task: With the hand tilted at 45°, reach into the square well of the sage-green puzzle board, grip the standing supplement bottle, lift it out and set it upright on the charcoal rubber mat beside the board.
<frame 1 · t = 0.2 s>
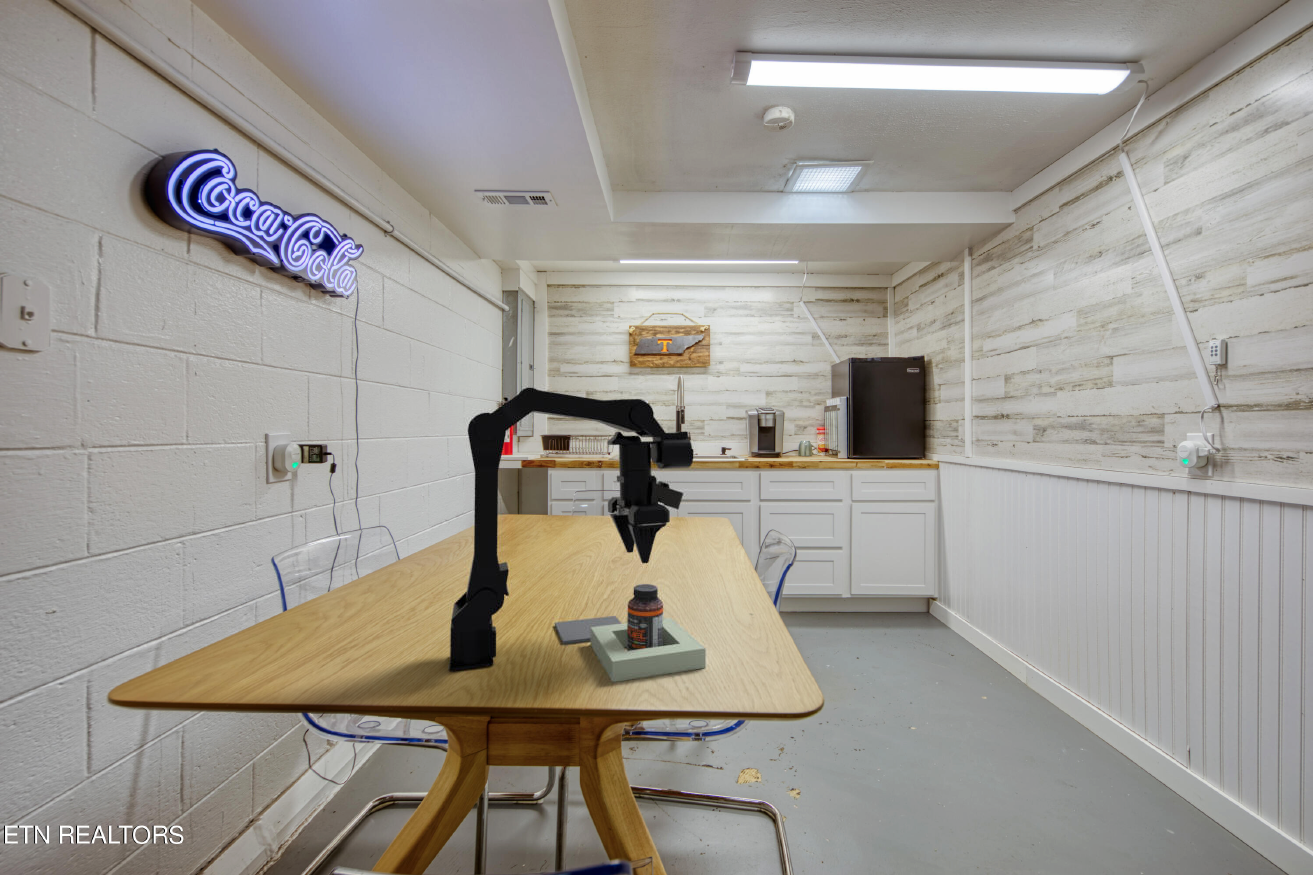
hand: (637, 557, 91), 15 cm above the table, tool pointing down, fingers open, 9 cm apart
puzzle board: (644, 655, 84), on the table
supplement bottle: (644, 656, 84), resting in puzzle board
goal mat: (591, 630, 95), on the table
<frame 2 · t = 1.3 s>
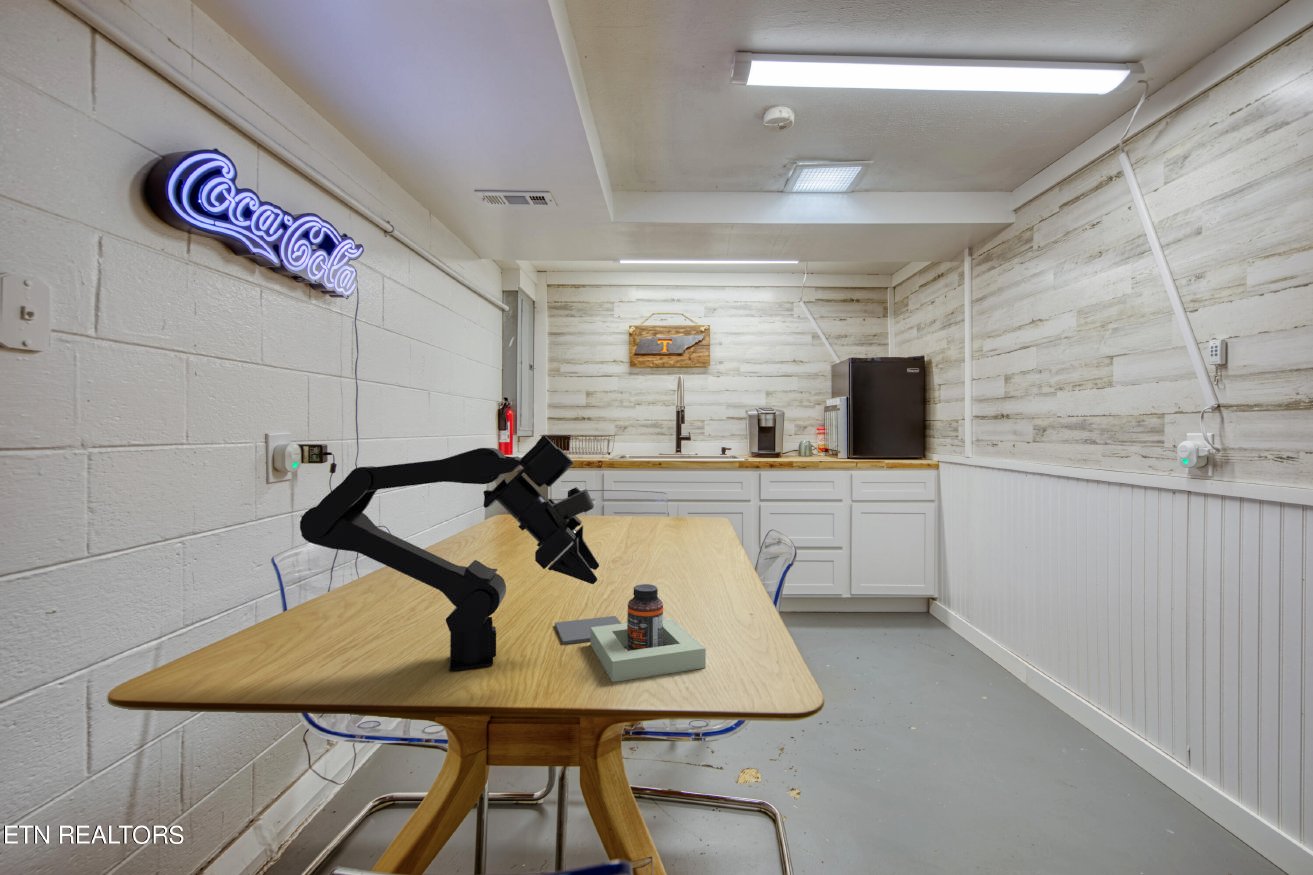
hand: (596, 574, 84), 13 cm above the table, tool tilted 45°, fingers open, 9 cm apart
nothing on the table moved.
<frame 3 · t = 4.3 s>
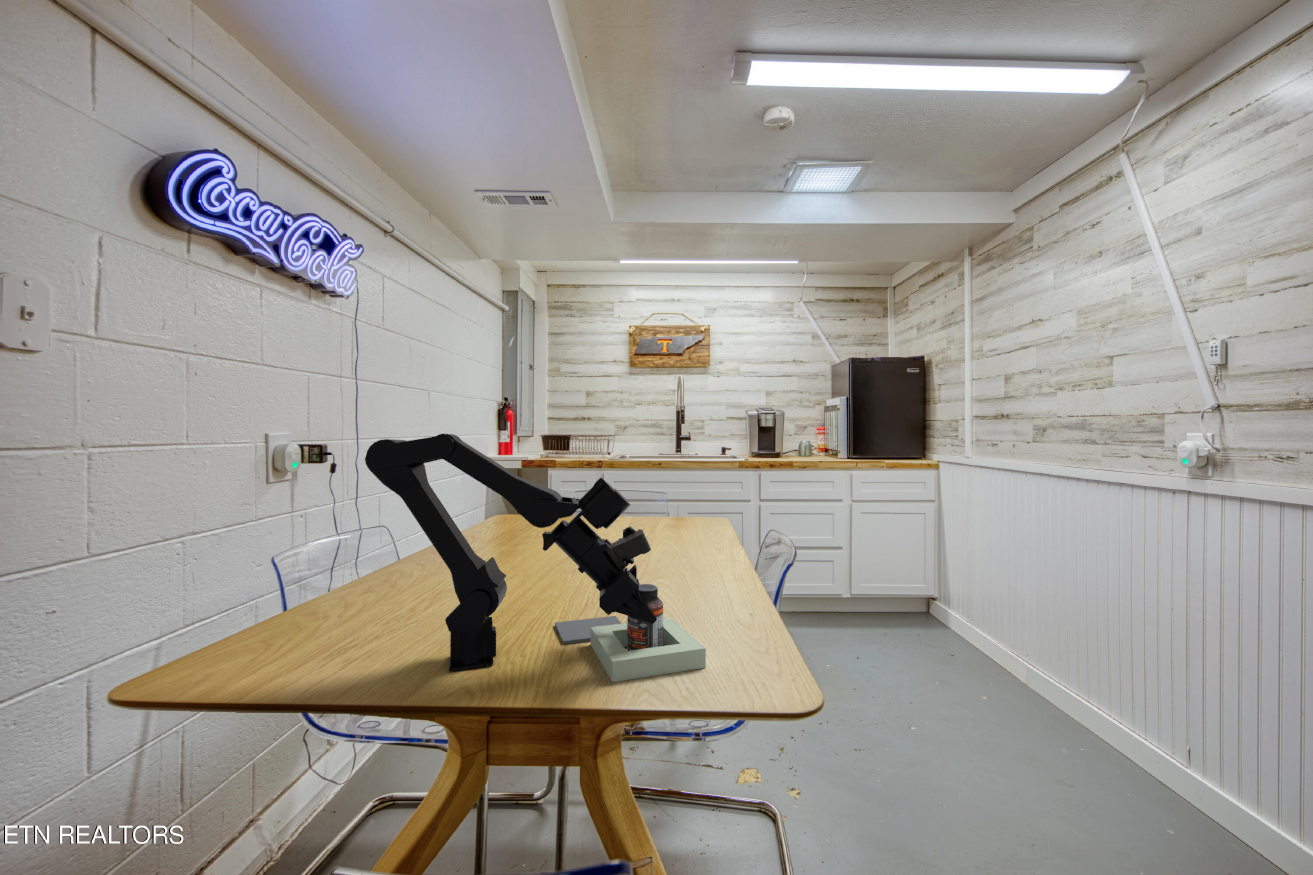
hand: (653, 615, 84), 7 cm above the table, tool tilted 45°, fingers closed on supplement bottle, 6 cm apart
supplement bottle: (644, 656, 84), resting in puzzle board, touching gripper
when the fingers open (8 cm above the table, at t = 8.8 s): supplement bottle stays where it is, resting on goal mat.
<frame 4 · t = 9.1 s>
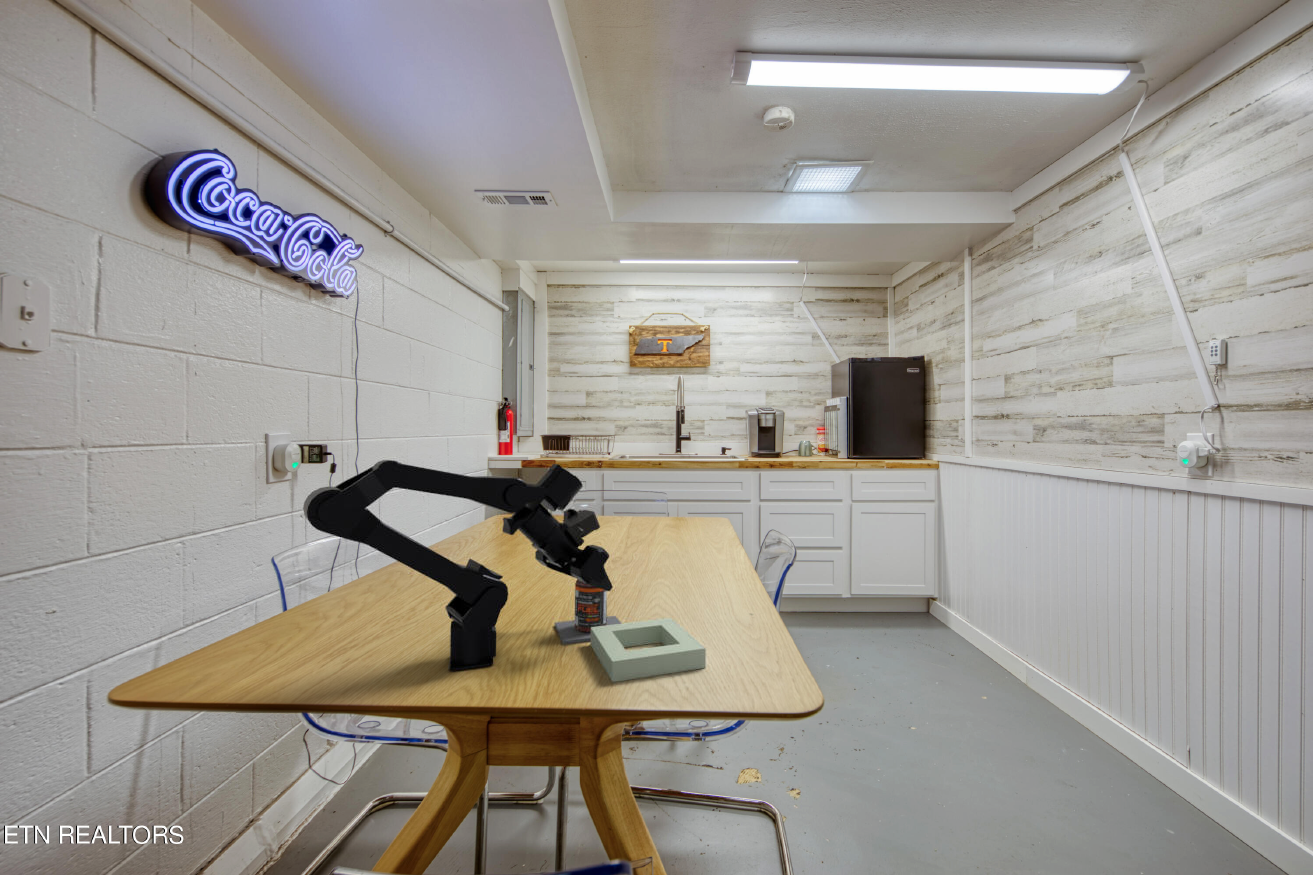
hand: (597, 583, 96), 9 cm above the table, tool tilted 45°, fingers open, 9 cm apart
supplement bottle: (590, 629, 95), resting on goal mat
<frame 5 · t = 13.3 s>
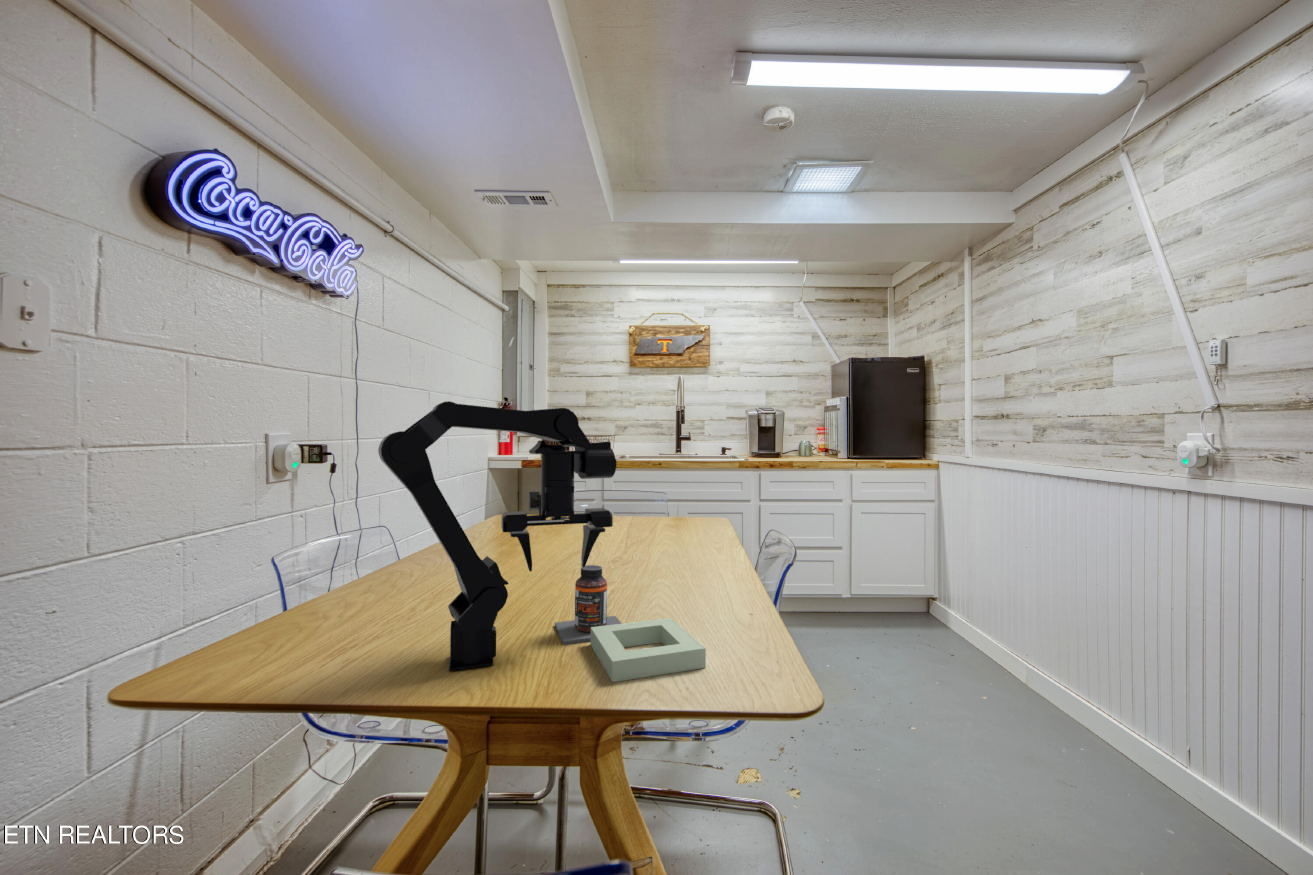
hand: (557, 568, 89), 13 cm above the table, tool pointing down, fingers open, 9 cm apart
nothing on the table moved.
at the end: supplement bottle inside the target area on the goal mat (0.3 cm from its centre), point 0.4 cm above the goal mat's base; supplement bottle tilted 0°; the gripper is holding nothing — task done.
